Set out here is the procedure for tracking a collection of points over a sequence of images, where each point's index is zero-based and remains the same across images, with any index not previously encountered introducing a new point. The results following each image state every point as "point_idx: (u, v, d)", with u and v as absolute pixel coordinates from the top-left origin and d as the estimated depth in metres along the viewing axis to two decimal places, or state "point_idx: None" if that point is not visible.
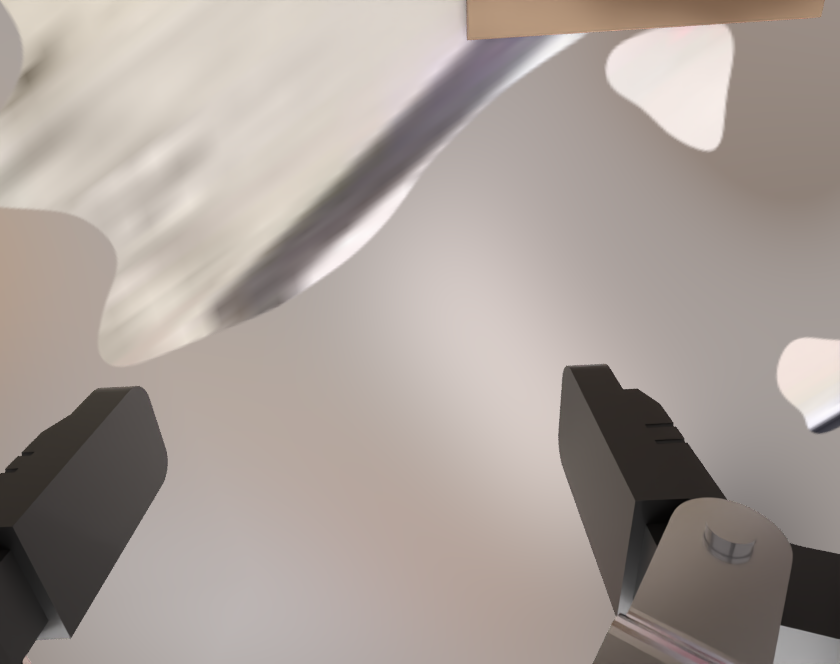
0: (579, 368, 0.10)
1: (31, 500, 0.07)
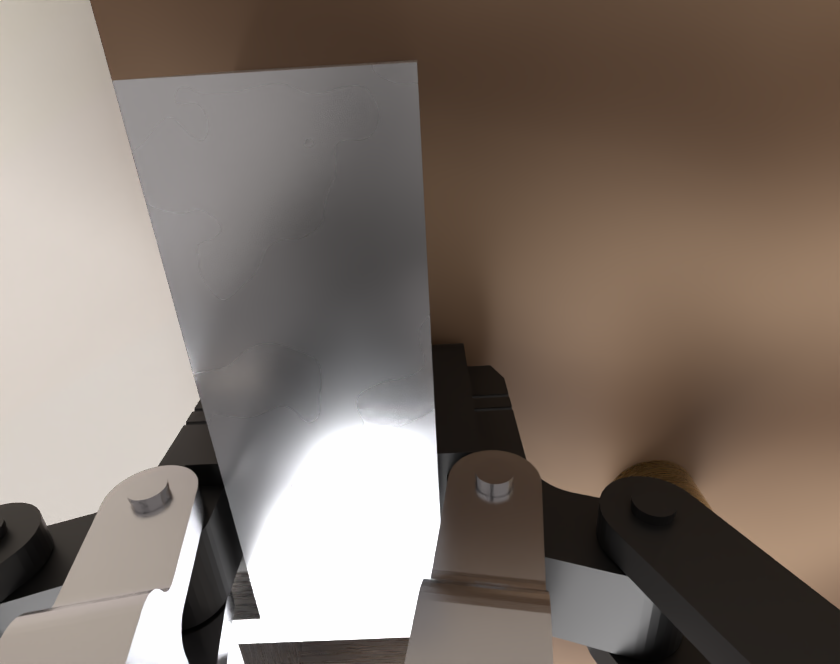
0: (437, 347, 0.11)
1: None
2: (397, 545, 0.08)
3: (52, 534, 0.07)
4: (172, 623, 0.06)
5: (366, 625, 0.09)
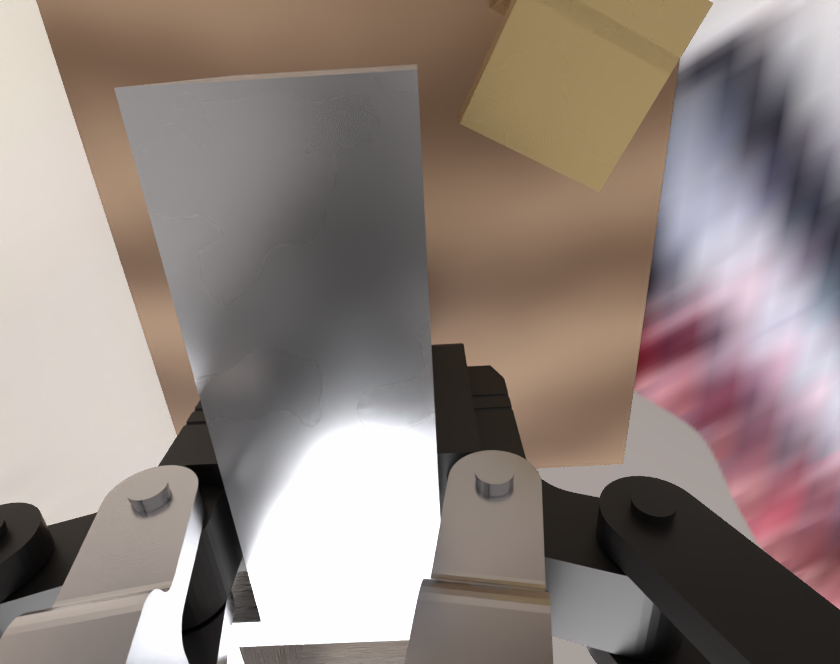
0: (437, 346, 0.11)
1: None
2: (397, 548, 0.08)
3: (52, 534, 0.07)
4: (172, 623, 0.06)
5: (366, 628, 0.09)
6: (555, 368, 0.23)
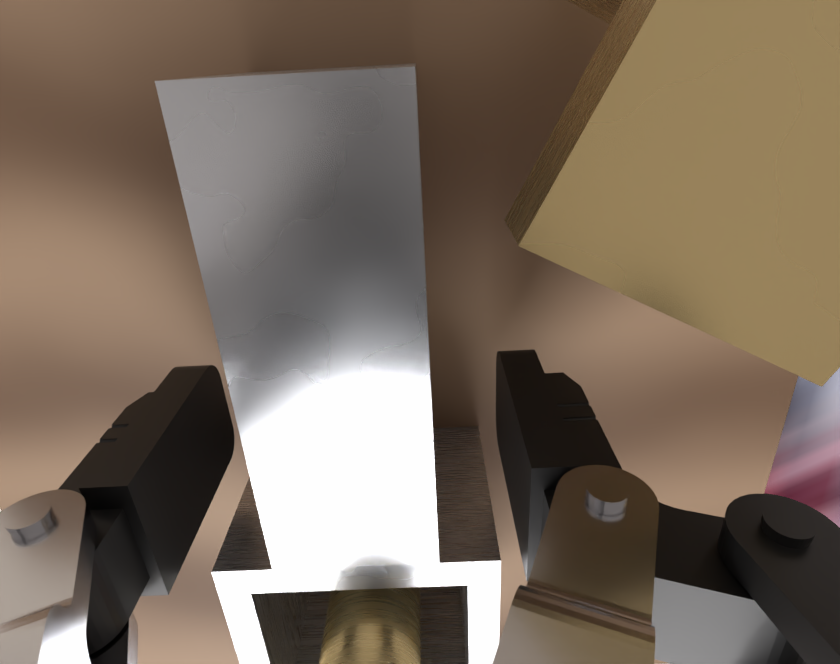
0: (508, 353, 0.10)
1: (138, 464, 0.08)
2: (396, 499, 0.09)
3: None
4: (77, 638, 0.06)
5: (367, 576, 0.10)
6: None
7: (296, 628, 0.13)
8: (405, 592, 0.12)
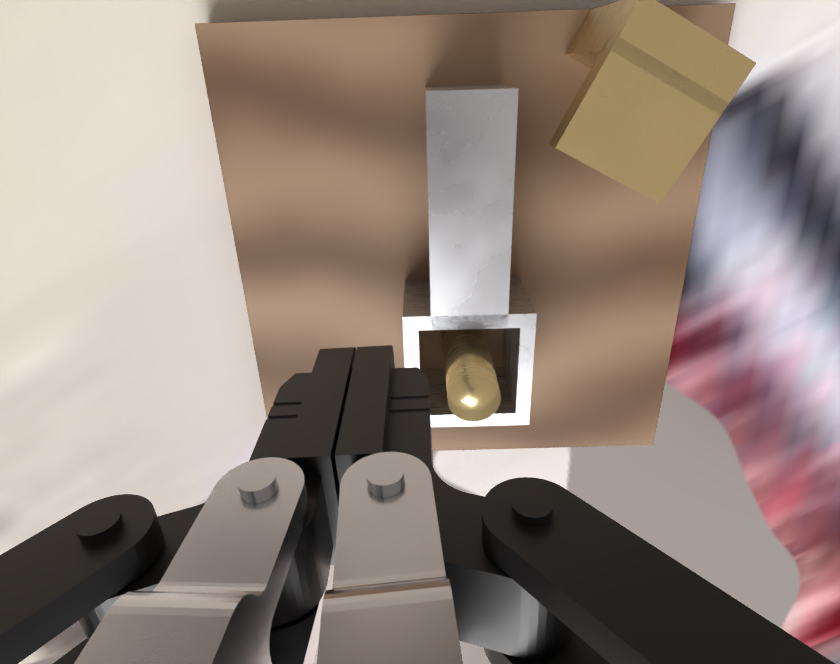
0: (365, 348, 0.11)
1: (329, 436, 0.08)
2: (492, 277, 0.21)
3: (164, 531, 0.07)
4: (261, 628, 0.06)
5: (474, 321, 0.21)
6: (599, 357, 0.27)
7: None
8: (485, 346, 0.23)
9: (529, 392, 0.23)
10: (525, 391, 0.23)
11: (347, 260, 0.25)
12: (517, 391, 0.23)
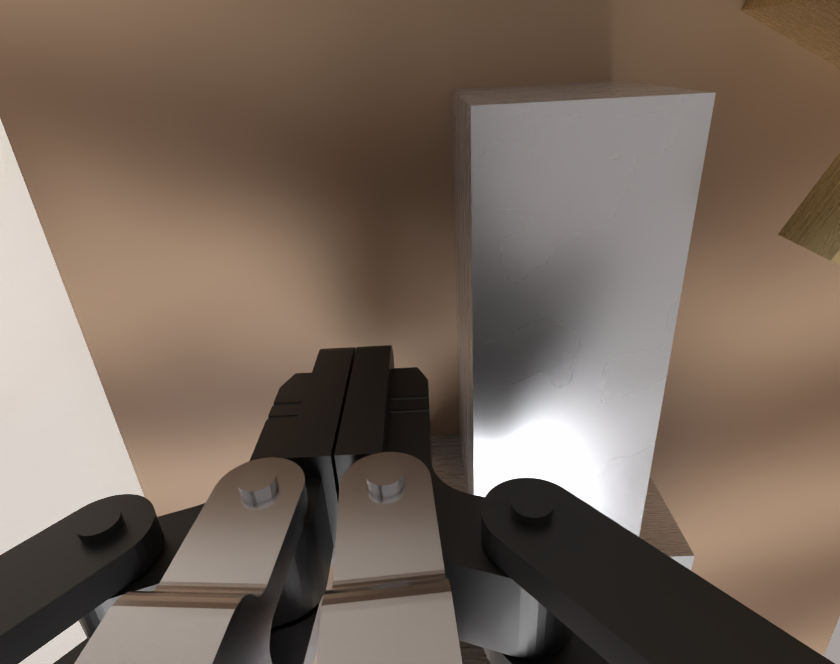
0: (364, 349, 0.11)
1: (329, 436, 0.08)
2: (608, 497, 0.10)
3: (164, 532, 0.07)
4: (261, 628, 0.06)
5: None
6: (750, 540, 0.16)
7: None
8: None
9: None
10: None
11: None
12: None
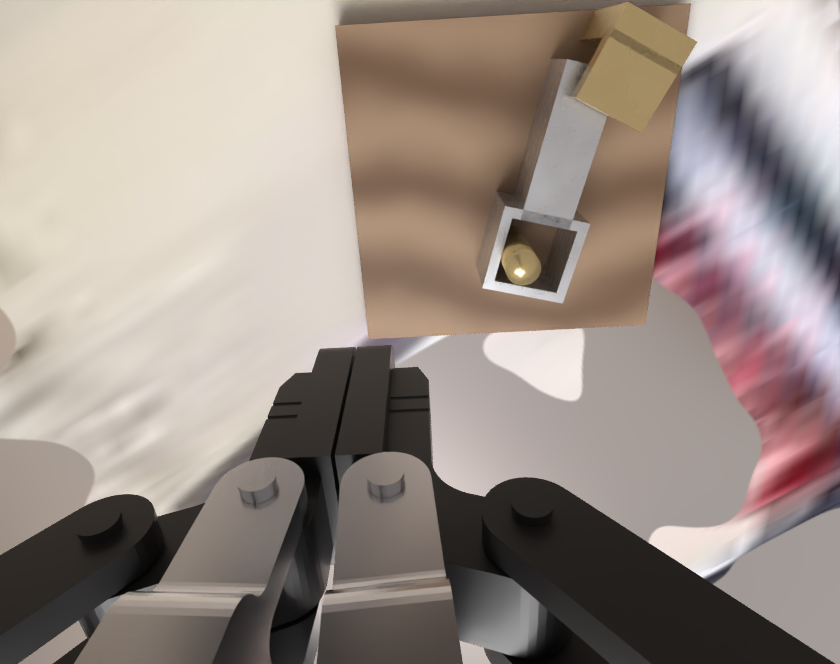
0: (365, 348, 0.11)
1: (329, 436, 0.08)
2: (570, 191, 0.32)
3: (164, 531, 0.07)
4: (261, 628, 0.06)
5: (549, 220, 0.32)
6: (605, 256, 0.38)
7: None
8: (527, 241, 0.34)
9: (569, 279, 0.34)
10: (567, 277, 0.34)
11: (428, 188, 0.35)
12: (562, 277, 0.34)
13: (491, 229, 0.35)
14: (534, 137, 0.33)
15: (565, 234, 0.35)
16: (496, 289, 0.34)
